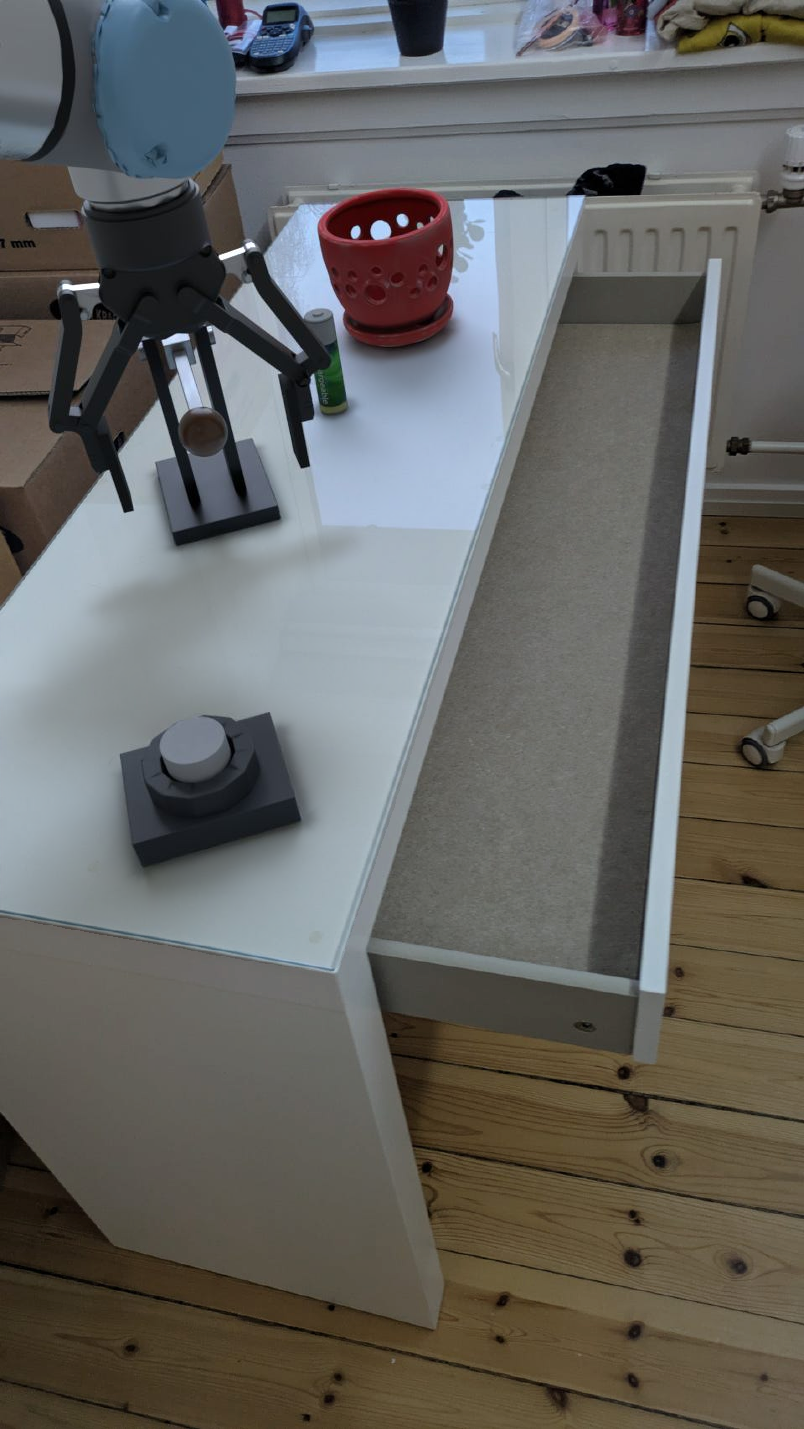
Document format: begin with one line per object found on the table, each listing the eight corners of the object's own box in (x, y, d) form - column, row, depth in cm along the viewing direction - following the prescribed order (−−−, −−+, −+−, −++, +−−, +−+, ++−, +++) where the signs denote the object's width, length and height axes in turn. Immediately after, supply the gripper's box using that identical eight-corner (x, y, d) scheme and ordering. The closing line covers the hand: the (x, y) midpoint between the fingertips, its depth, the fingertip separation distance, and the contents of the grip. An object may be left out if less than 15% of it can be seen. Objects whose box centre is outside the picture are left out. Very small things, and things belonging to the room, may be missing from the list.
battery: (315, 407, 104) (297, 312, 98) (339, 398, 105) (323, 302, 99) (328, 418, 103) (311, 322, 96) (353, 408, 103) (338, 312, 97)
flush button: (171, 791, 66) (163, 771, 64) (163, 746, 68) (155, 727, 67) (236, 772, 66) (229, 752, 65) (225, 729, 69) (218, 709, 68)
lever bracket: (281, 518, 92) (240, 340, 81) (176, 545, 90) (120, 368, 79) (255, 450, 100) (215, 279, 89) (158, 474, 99) (106, 304, 88)
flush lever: (236, 460, 81) (227, 425, 78) (188, 472, 81) (178, 437, 78) (199, 345, 88) (190, 308, 85) (155, 355, 88) (145, 318, 84)
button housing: (142, 867, 66) (123, 825, 64) (129, 776, 72) (111, 734, 69) (301, 820, 68) (289, 777, 65) (276, 734, 73) (264, 691, 70)
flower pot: (351, 302, 120) (334, 188, 112) (469, 300, 117) (460, 183, 109) (321, 359, 111) (300, 240, 103) (447, 358, 108) (437, 236, 100)
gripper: (316, 132, 73) (360, 419, 87) (-62, 212, 69) (49, 496, 84) (343, 165, 67) (385, 465, 82) (-65, 253, 64) (54, 548, 79)
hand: (215, 481), depth 83 cm, fingers open, 13 cm apart
